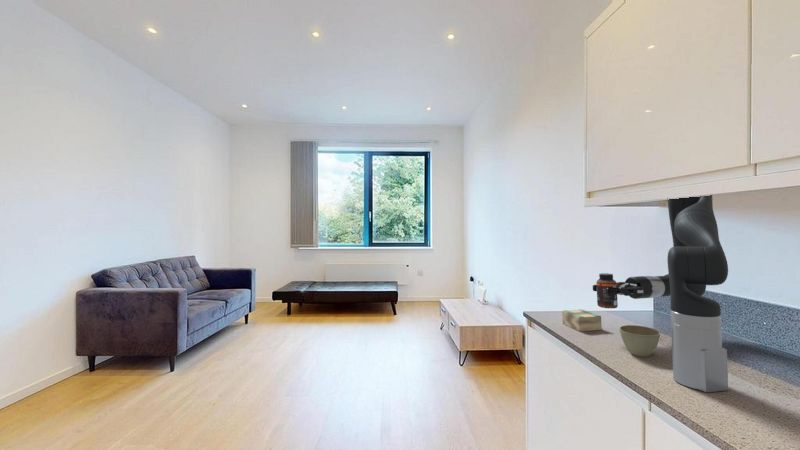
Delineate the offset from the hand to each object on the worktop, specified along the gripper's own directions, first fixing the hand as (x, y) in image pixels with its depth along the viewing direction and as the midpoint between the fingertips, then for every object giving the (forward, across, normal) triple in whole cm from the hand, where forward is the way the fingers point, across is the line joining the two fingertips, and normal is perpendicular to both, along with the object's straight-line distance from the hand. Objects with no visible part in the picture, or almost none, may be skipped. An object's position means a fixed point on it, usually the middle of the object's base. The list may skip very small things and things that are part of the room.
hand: (600, 289), depth 115 cm
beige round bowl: (-2, +14, +17) cm, 22 cm away
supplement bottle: (-2, 0, +6) cm, 7 cm away
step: (-3, -14, +17) cm, 22 cm away
